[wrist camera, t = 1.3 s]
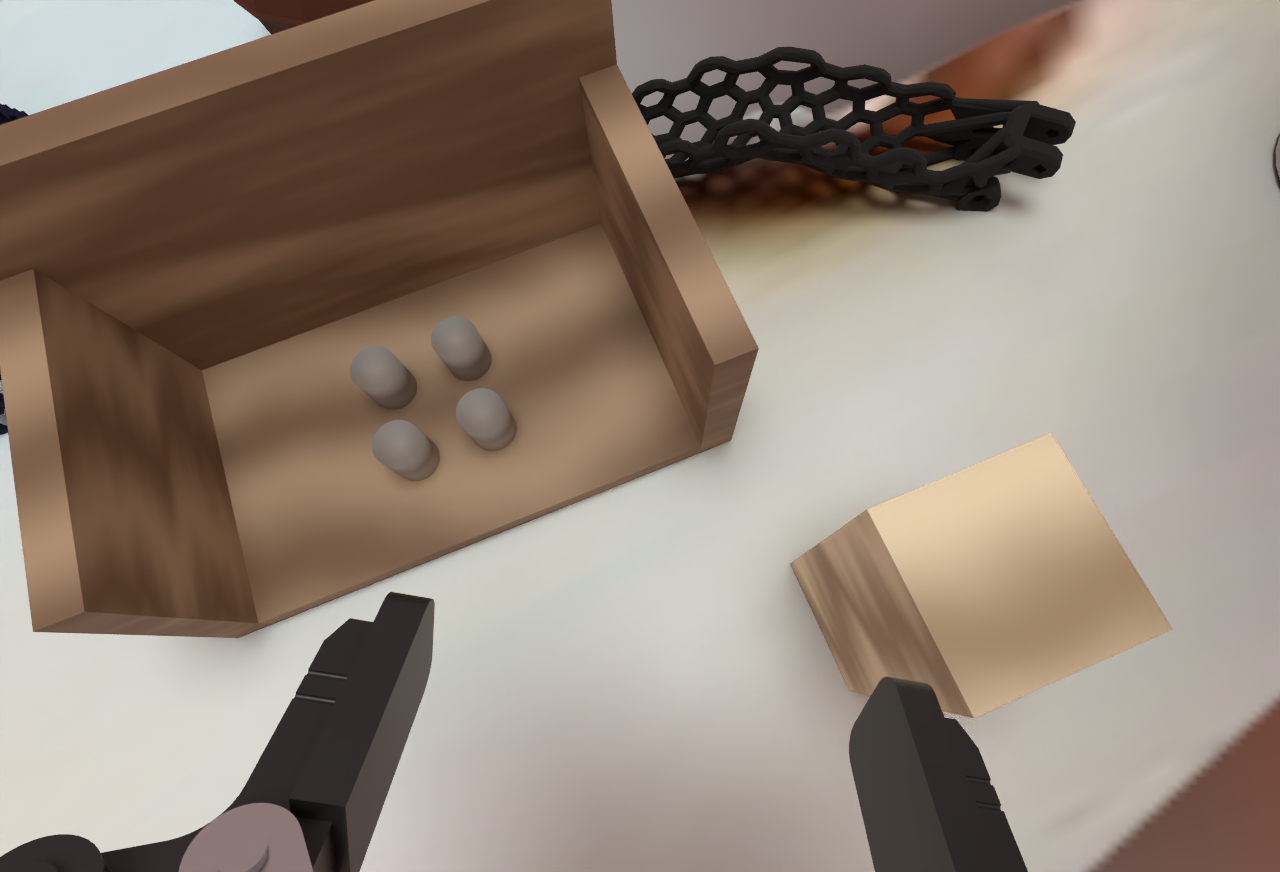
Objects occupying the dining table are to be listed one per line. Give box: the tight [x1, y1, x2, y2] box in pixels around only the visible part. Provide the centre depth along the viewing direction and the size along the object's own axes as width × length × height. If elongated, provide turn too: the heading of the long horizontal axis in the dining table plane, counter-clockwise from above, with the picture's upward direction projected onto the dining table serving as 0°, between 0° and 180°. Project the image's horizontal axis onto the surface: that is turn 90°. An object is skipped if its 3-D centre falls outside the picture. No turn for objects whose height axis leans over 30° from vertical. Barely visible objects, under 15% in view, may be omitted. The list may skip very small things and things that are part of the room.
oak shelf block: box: [791, 433, 1172, 718], centre depth 23 cm, size 6×6×12 cm
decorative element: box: [632, 47, 1076, 212], centre depth 33 cm, size 22×5×6 cm, turn 86°
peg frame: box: [0, 0, 759, 638], centre depth 26 cm, size 14×23×14 cm, turn 112°
